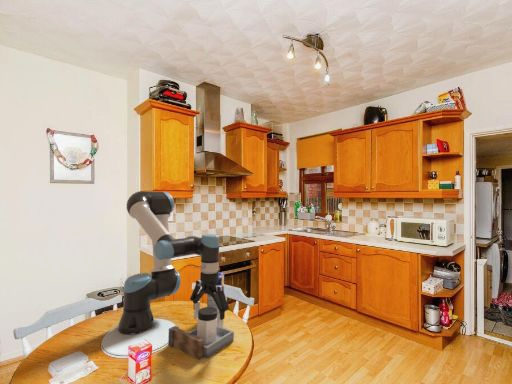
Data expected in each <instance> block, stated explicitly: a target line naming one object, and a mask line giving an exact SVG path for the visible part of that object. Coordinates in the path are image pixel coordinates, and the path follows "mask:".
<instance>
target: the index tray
mask: <svg viewBox="0 0 512 384" xmlns="http://www.w3.org/2000/svg"><path fill="white" fill-rule="evenodd" d="M187 332H188V333H190V334H192V335H195V336H197V327H195V328H193V329H191V330H190V331H187ZM234 335H235V331H233V330H231V329H228V328H226V327H224V326H222V327H220V328H217V338H216V341H215V342H213V343H211V344H207V345H204V344H203V359H204V358H205V359H208V358H210V357H212V356H213V355H214V354H216V353H218V352H219V351H221V350H222V349H224V348H225V347H227V346H228V345H230V344H232V343H233V342H234V340H235V339H234Z"/></svg>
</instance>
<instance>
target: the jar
mask: <svg viewBox="0 0 512 384" xmlns="http://www.w3.org/2000/svg"><path fill="white" fill-rule="evenodd" d="M217 315H218V313H217V309H216V308H214V307H207V306H205V307H200V309H199V310H198V318H197V321H196V322H197V323H196V324H197V325H196V328H197V337H199V338H201V339H204V340H203V344H204V345H207V344H211V343H213V342H215V341H216V338H217Z"/></svg>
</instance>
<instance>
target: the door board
mask: <svg viewBox="0 0 512 384" xmlns="http://www.w3.org/2000/svg"><path fill="white" fill-rule="evenodd" d="M188 332H189V331H185V330H183V329H181V328H180V326H177V325H174V326H172V327H169V328H168V338H167V339H168V341H167V343H168V344H167V345H168V346H167V347H170V348H172V349H173V348H174V349H176V350H178V351H180V352H181V353H184V354H185V355H188V356H189V357H191V358H194V359H195V360H197V361H201V360H202V359H204V357H203V340H204V339H201V338H199V337H197V336H195V335H192V334H190V333H188Z"/></svg>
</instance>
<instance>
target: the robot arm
mask: <svg viewBox="0 0 512 384" xmlns="http://www.w3.org/2000/svg"><path fill="white" fill-rule="evenodd" d="M126 201H127V202H126V211H127V213H128V215H129V216H130V217H131V218H132V219H135V220H136V221H137V222H138V224H139V225H140V226H141V228H142V229H143V230H144V232H145V234H146V235H147V236H148V237H149V239H150V240H151V242H152V243H151V244H152V258H153V268H152V269H151V271H150V272H151V273H148V272H141V273H136V274H133V275H130V276H129V277H128V278H126V280H125V281H124V285H123V286H124V287H123V311H122V314H121V317H120V318H119V322H118V329H117V330H118V331H119V332H120V333H122V334H124V333H125V335H132V334H131V333H136V334H140V333H139V332H141V333H143V331H144V332H146V331H148V330H151V328H153V326H154V323H155V319H154V315H153V313H152V308H151V301H154V300H157V299H161V298H165V297H169V296H171V295H175V294H176V293H177V292H178V291H179V290H180V287H181V284H182V283H181V282H182V279H181V275H180V273H179V271H178V270H176V267H175V266H173V264H172V259H175V258H180V257H187V256H192V255H197V256H200V271H201V272H200V276H199V277H200V279H198V280H195V286H194V288H193V291H192V294H191V295H190V298H189V300H190V301H191V302H192V303H193V311H194V312H193V319H194V320H196V319H197V320H198V310H199V309H201V299H202V297H203V296H204V295H206V294H207V296H208V295H211V297H213V299H214V301H215V303H216V305H217V307H218V309H219V311H218V321H217V328H220V327H224V319H225V317H226V316H225V315H226V311H228V310H230V307H229V304H228V300H227V298H226V294H225V289H224V290H223V285H221V286H218V285H217V281H218V272H219V269H220V268H219V267H220V266H219V265H220V264H219V263H220V260H219V259H220V236H219V235H218V234H213V233H212V234H211V233H207V234H206V233H205V234H202V236H201V237H199V236H194V235H189V236H186V237H183V238H175V237H173V235H172V234H171V233H170V229H169V218H170V217H171V213H173V211H174V208H175V200H174V198H173V196H172V195H171V194H170V193H169V192H167V191H152V190H151V191H148V190H147V191H146V190H140V191H136V192H134V193H132V194H131V195H130V196H129V198H128V199H127V200H126ZM214 293H215V294H214ZM221 307H222V308H221Z"/></svg>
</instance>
